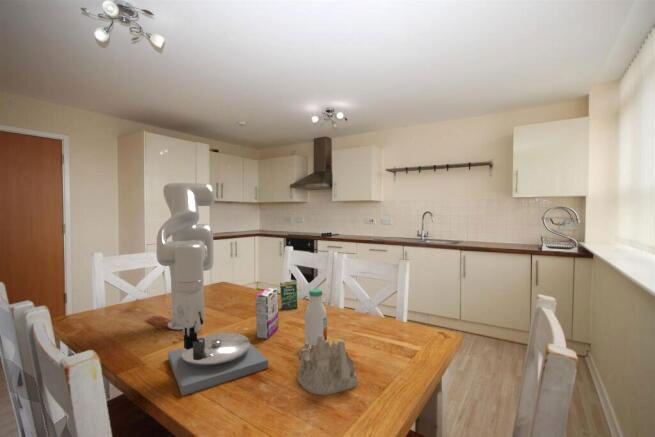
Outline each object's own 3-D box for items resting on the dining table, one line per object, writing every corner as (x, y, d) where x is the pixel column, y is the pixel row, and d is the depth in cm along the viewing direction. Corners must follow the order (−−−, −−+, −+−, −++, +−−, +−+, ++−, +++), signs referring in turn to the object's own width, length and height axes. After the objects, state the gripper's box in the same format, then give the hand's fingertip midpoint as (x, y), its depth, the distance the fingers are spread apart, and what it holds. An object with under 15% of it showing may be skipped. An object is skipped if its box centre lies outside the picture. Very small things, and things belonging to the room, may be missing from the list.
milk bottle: (319, 353, 102) (318, 294, 102) (300, 348, 106) (300, 291, 106) (331, 344, 109) (330, 289, 108) (313, 340, 113) (312, 286, 112)
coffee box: (280, 309, 147) (280, 283, 147) (280, 308, 150) (280, 281, 150) (297, 308, 149) (297, 282, 149) (296, 306, 152) (296, 280, 152)
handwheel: (210, 335, 108) (210, 316, 108) (260, 342, 102) (260, 321, 102) (165, 362, 89) (165, 339, 89) (224, 372, 83) (224, 347, 83)
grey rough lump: (362, 388, 82) (359, 332, 82) (302, 400, 78) (299, 341, 78) (346, 364, 97) (343, 316, 97) (294, 372, 93) (292, 323, 94)
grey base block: (168, 359, 99) (168, 348, 99) (241, 340, 113) (241, 331, 112) (182, 395, 79) (181, 382, 79) (268, 368, 93) (267, 356, 93)
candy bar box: (267, 327, 126) (267, 287, 125) (278, 328, 125) (278, 288, 124) (255, 338, 115) (255, 295, 114) (268, 339, 114) (267, 295, 113)
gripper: (165, 284, 91) (166, 344, 92) (189, 293, 82) (190, 360, 82) (190, 279, 97) (191, 336, 98) (215, 287, 87) (215, 350, 88)
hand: (190, 347), depth 90 cm, fingers closed
